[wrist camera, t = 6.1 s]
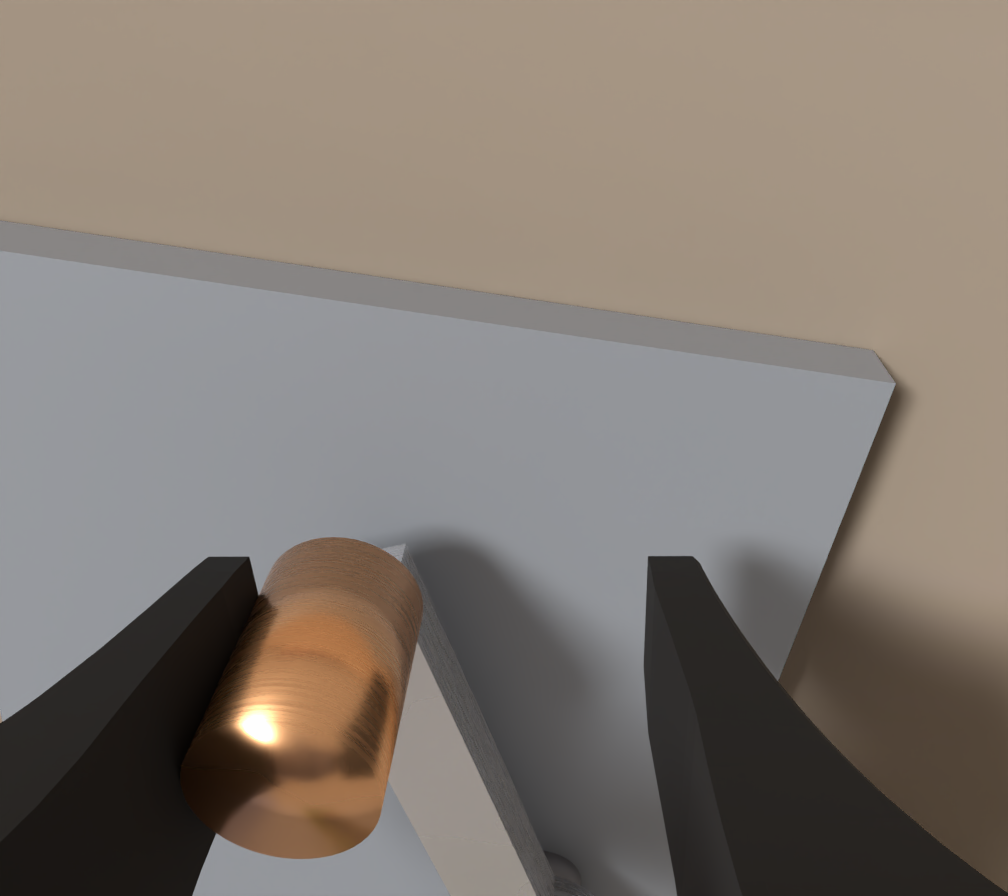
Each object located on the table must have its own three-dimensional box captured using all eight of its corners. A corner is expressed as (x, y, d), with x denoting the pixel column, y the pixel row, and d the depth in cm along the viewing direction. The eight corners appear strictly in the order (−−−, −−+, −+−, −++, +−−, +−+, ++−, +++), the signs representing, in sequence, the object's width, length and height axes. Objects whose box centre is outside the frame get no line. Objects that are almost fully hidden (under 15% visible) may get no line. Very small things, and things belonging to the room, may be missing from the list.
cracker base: (840, 999, 24) (883, 1171, 21) (71, 892, 24) (-9, 1049, 20) (1195, 397, 15) (1373, 536, 12) (-55, 212, 15) (-236, 300, 11)
